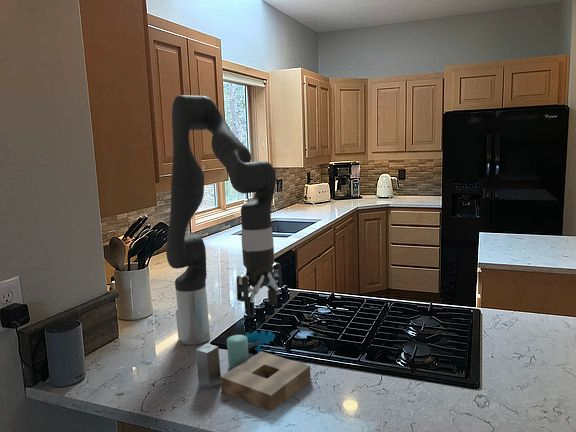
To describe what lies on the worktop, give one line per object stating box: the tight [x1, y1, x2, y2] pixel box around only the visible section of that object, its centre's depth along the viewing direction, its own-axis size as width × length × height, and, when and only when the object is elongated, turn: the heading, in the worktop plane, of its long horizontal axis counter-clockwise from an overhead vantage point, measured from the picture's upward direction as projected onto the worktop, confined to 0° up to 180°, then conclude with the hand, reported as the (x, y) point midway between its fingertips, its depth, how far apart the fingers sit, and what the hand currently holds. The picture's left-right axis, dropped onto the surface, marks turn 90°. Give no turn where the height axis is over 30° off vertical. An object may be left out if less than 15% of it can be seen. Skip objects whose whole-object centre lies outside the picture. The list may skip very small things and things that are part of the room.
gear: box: [244, 330, 276, 354], centre depth 136 cm, size 11×6×10 cm
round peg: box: [226, 334, 250, 371], centre depth 128 cm, size 6×6×8 cm
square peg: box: [195, 343, 222, 391], centre depth 119 cm, size 4×4×10 cm
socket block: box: [220, 350, 311, 412], centre depth 117 cm, size 16×16×4 cm
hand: (261, 310), depth 114 cm, fingers open, 8 cm apart
